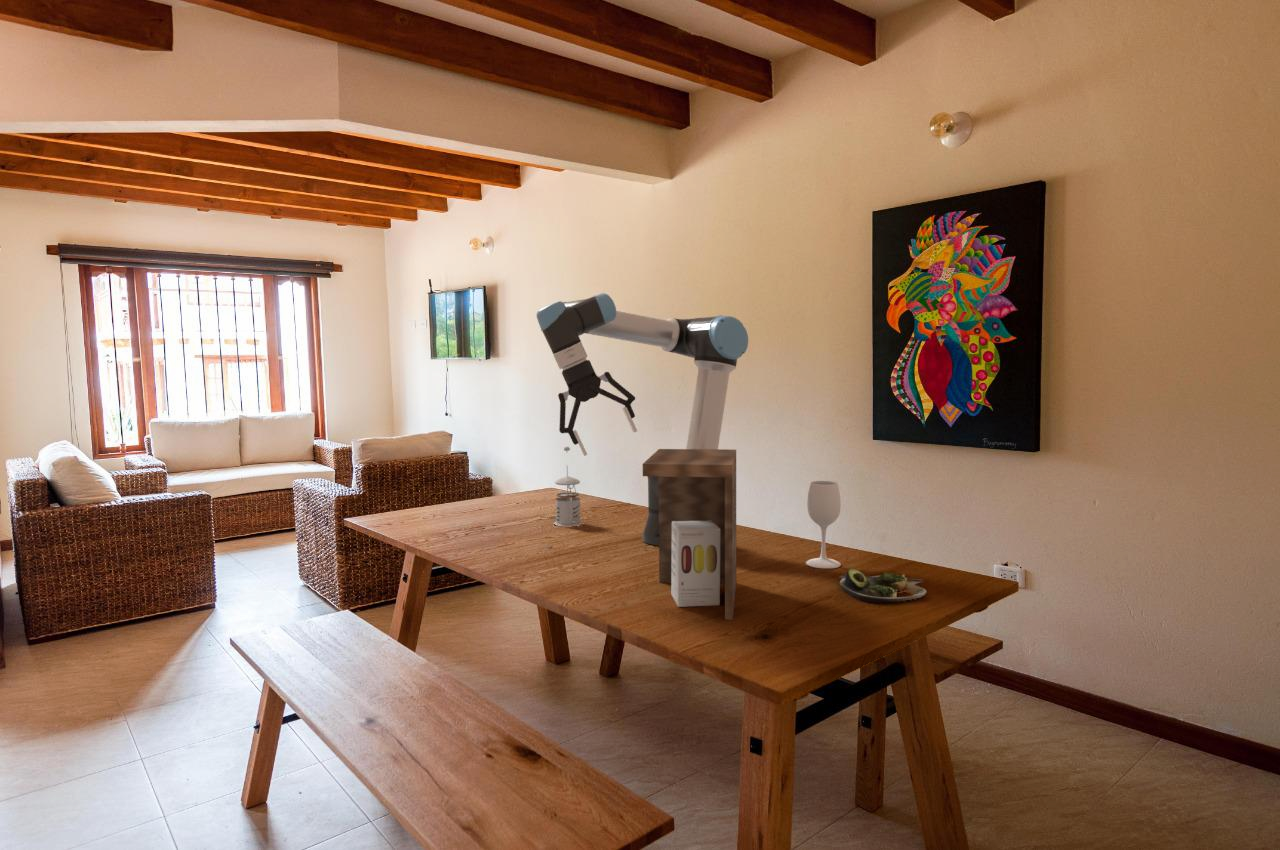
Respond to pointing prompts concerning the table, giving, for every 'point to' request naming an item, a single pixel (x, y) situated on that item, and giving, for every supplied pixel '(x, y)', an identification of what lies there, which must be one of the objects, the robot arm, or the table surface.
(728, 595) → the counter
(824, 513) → the wineglass
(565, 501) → the french press
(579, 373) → the robot arm
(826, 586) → the table surface
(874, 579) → the salad plate
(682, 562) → the supplement box
